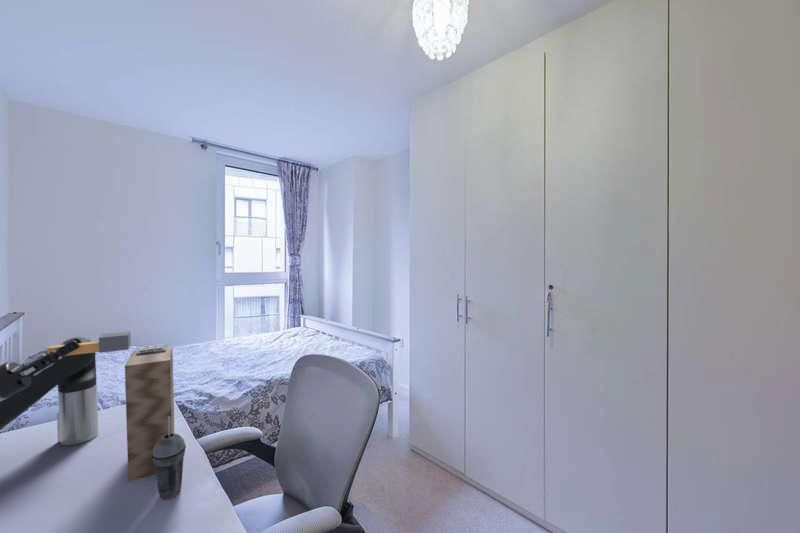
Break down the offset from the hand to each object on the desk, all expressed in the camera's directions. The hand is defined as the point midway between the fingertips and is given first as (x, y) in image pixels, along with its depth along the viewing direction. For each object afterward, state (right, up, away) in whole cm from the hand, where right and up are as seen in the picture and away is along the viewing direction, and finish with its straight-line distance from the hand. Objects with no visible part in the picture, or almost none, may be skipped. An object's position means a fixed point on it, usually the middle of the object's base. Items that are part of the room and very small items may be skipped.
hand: (78, 342), depth 89 cm
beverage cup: (+24, -39, -1) cm, 46 cm away
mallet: (+2, -3, +1) cm, 4 cm away
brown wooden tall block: (+10, -38, +13) cm, 42 cm away
